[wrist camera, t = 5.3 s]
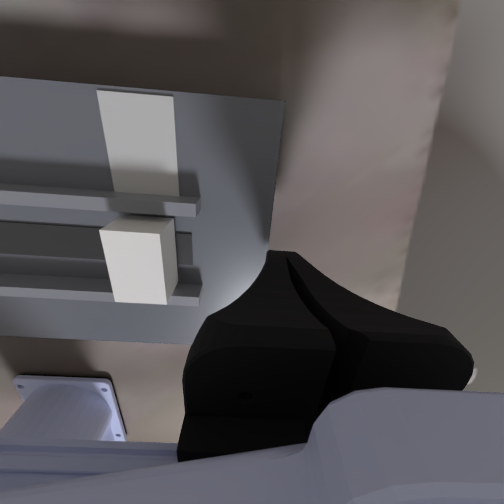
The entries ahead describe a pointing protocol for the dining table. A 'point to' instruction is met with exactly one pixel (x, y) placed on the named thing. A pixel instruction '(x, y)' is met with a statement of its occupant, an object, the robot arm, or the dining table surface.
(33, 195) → the panel
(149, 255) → the block
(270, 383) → the robot arm
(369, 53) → the dining table surface
